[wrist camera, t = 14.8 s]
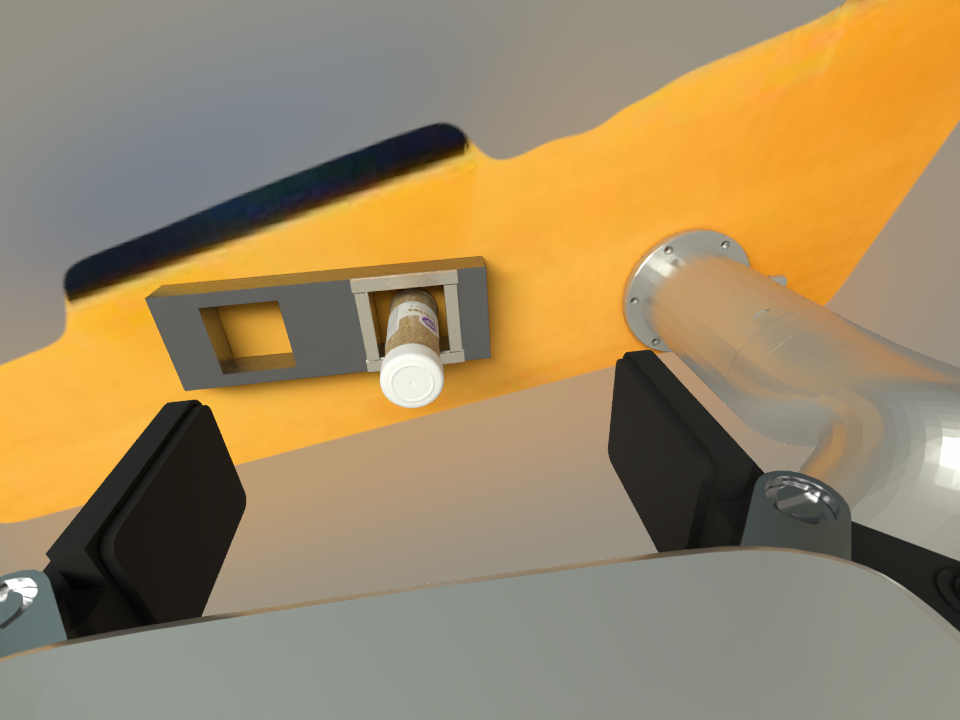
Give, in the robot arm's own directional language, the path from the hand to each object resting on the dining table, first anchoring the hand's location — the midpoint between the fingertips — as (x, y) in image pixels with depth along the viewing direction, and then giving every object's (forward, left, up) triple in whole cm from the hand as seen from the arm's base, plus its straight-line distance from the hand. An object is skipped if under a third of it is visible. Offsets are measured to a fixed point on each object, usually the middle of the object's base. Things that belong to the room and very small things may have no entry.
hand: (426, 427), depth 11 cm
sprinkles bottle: (+2, +11, -34) cm, 35 cm away
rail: (+9, +11, -33) cm, 36 cm away
